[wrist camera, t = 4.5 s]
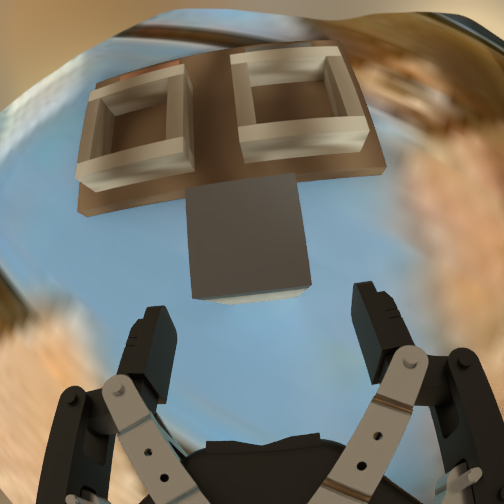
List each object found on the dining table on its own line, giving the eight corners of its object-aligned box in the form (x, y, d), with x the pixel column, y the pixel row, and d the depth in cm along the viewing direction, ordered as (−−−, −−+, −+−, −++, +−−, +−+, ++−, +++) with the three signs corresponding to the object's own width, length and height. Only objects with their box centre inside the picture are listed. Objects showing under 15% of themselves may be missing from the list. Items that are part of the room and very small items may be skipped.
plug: (288, 234, 22) (294, 172, 12) (296, 297, 21) (311, 284, 11) (226, 242, 22) (185, 188, 12) (232, 304, 21) (192, 298, 11)
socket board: (338, 50, 25) (343, 17, 20) (380, 174, 22) (399, 146, 18) (103, 91, 26) (83, 65, 22) (86, 216, 23) (55, 199, 19)
